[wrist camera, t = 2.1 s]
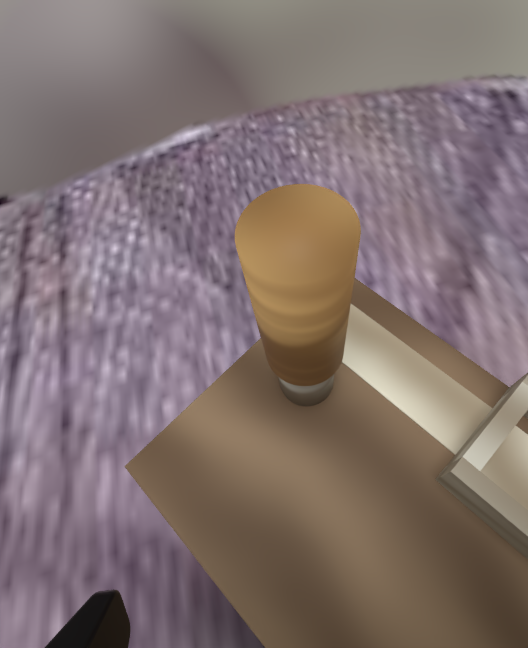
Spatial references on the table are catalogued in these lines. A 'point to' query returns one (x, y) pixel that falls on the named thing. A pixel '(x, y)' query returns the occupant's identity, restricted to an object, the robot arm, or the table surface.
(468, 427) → the board
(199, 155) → the table surface
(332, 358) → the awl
